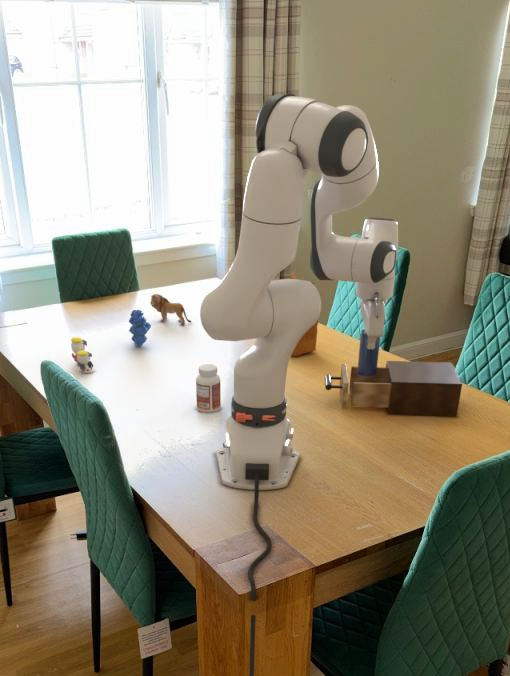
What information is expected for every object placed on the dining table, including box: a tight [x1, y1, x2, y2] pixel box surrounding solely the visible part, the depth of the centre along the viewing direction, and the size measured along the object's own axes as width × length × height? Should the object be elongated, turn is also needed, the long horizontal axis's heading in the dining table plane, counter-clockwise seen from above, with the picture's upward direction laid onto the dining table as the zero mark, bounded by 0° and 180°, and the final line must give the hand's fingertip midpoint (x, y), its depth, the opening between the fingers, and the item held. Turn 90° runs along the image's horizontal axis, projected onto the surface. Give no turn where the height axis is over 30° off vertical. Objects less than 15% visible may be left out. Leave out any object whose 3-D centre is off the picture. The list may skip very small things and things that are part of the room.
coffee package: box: [288, 273, 319, 357], centre depth 222 cm, size 10×12×22 cm
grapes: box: [128, 308, 152, 348], centre depth 230 cm, size 12×7×12 cm, turn 24°
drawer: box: [324, 363, 391, 410], centre depth 191 cm, size 20×14×7 cm
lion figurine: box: [150, 293, 192, 326], centre depth 251 cm, size 15×5×9 cm, turn 70°
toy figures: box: [70, 336, 94, 374], centre depth 215 cm, size 12×4×8 cm, turn 23°
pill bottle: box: [195, 363, 222, 413], centre depth 189 cm, size 6×6×11 cm
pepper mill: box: [357, 328, 381, 377], centre depth 186 cm, size 5×5×12 cm
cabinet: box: [385, 360, 463, 418], centre depth 190 cm, size 17×15×9 cm
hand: (369, 344), depth 185 cm, fingers closed on pepper mill, 5 cm apart
